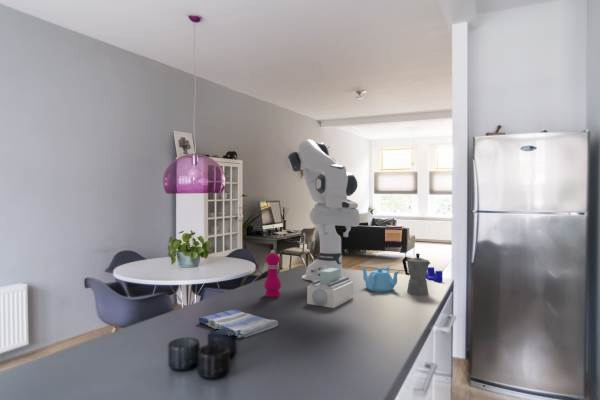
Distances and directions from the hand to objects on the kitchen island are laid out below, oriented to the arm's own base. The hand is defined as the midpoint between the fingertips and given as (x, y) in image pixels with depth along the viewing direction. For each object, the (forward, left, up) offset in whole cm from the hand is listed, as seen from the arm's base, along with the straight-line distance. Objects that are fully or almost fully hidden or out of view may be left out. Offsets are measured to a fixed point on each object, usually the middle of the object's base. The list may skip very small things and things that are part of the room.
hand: (335, 236), depth 171 cm
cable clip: (+25, +62, -27) cm, 72 cm away
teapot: (+10, +28, -27) cm, 40 cm away
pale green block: (0, -4, -19) cm, 19 cm away
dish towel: (-13, -47, -28) cm, 56 cm away
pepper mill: (-26, -9, -27) cm, 39 cm away
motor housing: (0, -4, -27) cm, 27 cm away
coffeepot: (+26, +29, -27) cm, 47 cm away
